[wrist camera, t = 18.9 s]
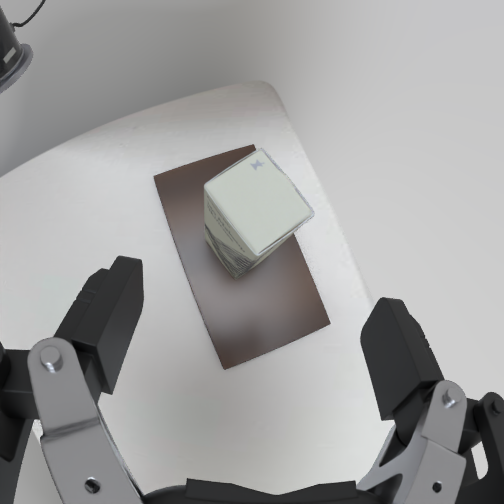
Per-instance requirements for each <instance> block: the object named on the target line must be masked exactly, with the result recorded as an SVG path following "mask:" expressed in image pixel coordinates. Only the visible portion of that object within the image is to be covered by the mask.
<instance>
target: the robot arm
mask: <svg viewBox="0 0 504 504" xmlns="http://www.w3.org/2000/svg"><path fill="white" fill-rule="evenodd" d="M44 2H45V0H42V2H41V4H40V5H39V7H38V8H37V9H36V10H35V12H34V13H33V14H32V15H31V16H30V17H29V18H28V19H27V20H26V21H25V22H23V23H21V24H19V23H13V24H12V23H9V22H8V21H7V19H6V17H5V15H4V13H3V10H2V8H1V7H0V83H1V82H2V81H3V80H5V79H6V78H7V77H8V76H9V75H10V74H11V73H12V72H13V71H14V70H15V69H16V68H17V67H18V66H19V64H20V63H21V61H22V59H23V57H24V54H25V52H24V49H23V48H22V47H21V45H20V43H19V41H18V40H17V38H16V36H15V34H14V32H15V29H14V26H16V27H22V26H23V25H25V24H26V23H28V22H29V21H30V20H31V19H32V18H33V17H34V16H35V14H36V13H37V12H38V11H39V10H40V8H41V7H42V5H43V4H44ZM143 301H144V291H143V266H142V260H141V259H136V258H130V257H125V256H118V257H117V258H116V260H115V261H114V263H113V264H112V266H111V268H110V269H109V270H108V269H103V268H101V269H100V270H98V271H97V272H96V273H94V274H93V275H91V276H90V277H89V278H88V280H87V281H86V283H85V285H84V286H83V288H82V291H80V293H79V294H78V296H77V297H76V300H75V301H74V302H73V304H72V306H71V307H70V309H69V311H68V312H67V314H66V316H65V317H64V319H63V321H62V323H61V324H60V326H59V328H58V330H57V331H56V333H55V335H54V336H53V337H52V338H46V339H43V340H41V341H39V342H38V343H37V344H35V345H34V346H33V348H32V349H31V350H10V349H4V347H3V346H2V344H1V342H0V504H13V502H14V496H15V492H16V487H17V481H18V477H19V473H20V469H21V464H22V460H23V456H24V452H25V449H26V445H27V442H28V438H29V435H30V431H31V428H32V425H33V422H34V419H37V420H40V421H41V425H42V429H43V435H42V436H41V437H40V442H41V447H42V451H43V454H44V457H45V460H46V463H47V465H48V468H49V471H50V473H51V476H52V479H53V481H54V483H55V486H56V488H57V491H58V493H59V495H60V498H61V500H62V502H63V504H504V400H503V398H502V397H501V396H500V395H498V394H496V393H494V392H488V393H487V394H486V395H485V396H484V397H483V398H482V399H480V400H479V401H478V400H473V399H469V398H466V396H465V393H464V392H463V390H462V389H461V388H460V387H459V386H458V385H457V384H456V383H454V382H452V381H449V380H445V379H444V377H443V375H442V372H441V370H440V368H439V365H438V363H437V361H436V358H435V356H434V354H433V352H432V350H431V348H429V343H428V341H427V339H425V335H424V332H423V330H422V329H421V326H420V325H419V323H418V322H417V321H416V320H415V319H414V318H413V317H412V316H411V315H410V314H409V312H408V310H407V308H406V306H405V304H404V302H403V301H402V300H400V299H393V298H385V297H382V298H380V299H379V300H378V302H377V304H376V305H375V307H374V309H373V311H372V312H371V314H370V316H369V318H368V319H367V321H366V323H365V325H364V326H363V328H362V331H361V337H360V342H361V346H362V350H363V353H364V357H365V360H366V363H367V367H368V371H369V374H370V378H371V381H372V385H373V389H374V393H375V396H376V400H377V404H378V408H379V412H380V416H381V420H382V421H384V420H394V421H395V425H394V426H393V427H392V428H391V430H390V431H389V434H388V436H387V438H386V440H385V442H384V444H383V446H382V448H381V450H380V452H379V454H378V456H377V458H376V460H375V462H374V464H373V466H372V468H371V469H370V471H369V472H368V473H367V474H366V476H364V477H363V478H362V479H361V481H360V482H359V483H358V484H357V485H356V482H355V481H347V482H337V483H326V484H317V485H314V486H311V487H307V488H304V489H300V490H297V491H293V492H289V493H285V494H281V495H272V494H268V493H264V492H260V491H256V490H252V489H249V488H245V487H242V486H238V485H235V484H232V483H220V482H211V481H203V480H195V479H188V478H187V482H186V485H178V486H171V487H166V488H162V489H159V490H155V491H153V492H151V493H148V494H146V495H144V494H143V492H142V491H141V489H140V487H139V486H138V484H137V482H136V480H135V479H134V477H133V475H132V473H131V472H130V470H129V468H128V466H127V465H126V463H125V461H124V459H123V458H122V456H121V454H120V452H119V450H118V448H117V446H116V444H115V442H114V440H113V438H112V436H111V433H110V431H109V429H108V427H107V425H106V422H105V420H104V418H103V416H102V413H101V411H100V409H99V406H98V404H97V403H98V400H99V397H100V394H101V392H104V393H107V394H111V395H112V394H113V391H114V388H115V385H116V382H117V379H118V376H119V373H120V370H121V367H122V364H123V361H124V358H125V355H126V353H127V350H128V347H129V344H130V342H131V339H132V336H133V333H134V331H135V328H136V325H137V323H138V320H139V318H140V315H141V312H142V308H143ZM481 441H482V444H483V447H484V450H485V454H486V458H487V462H488V471H487V474H486V475H485V476H484V477H483V478H482V479H480V480H479V479H478V476H477V471H476V467H475V463H474V459H473V455H472V451H471V448H472V447H474V446H475V445H477V444H478V443H479V442H481Z"/></svg>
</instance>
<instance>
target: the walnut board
mask: <svg viewBox="0 0 504 504" xmlns="http://www.w3.org/2000/svg"><path fill="white" fill-rule="evenodd" d="M254 151H256V148H255V146H254V144H253V145H249V146H246V147H242V148H239V149H235V150H232V151H228V152H225V153H222V154H218V155H215V156H212V157H209V158H205V159H202V160H199V161H196V162H193V163H190V164H187V165H184V166H181V167H178V168H175V169H172V170H169V171H167V172H164V173H161V174H158V175H155V176H153V177H154V180H155V183H156V187H157V190H158V193H159V196H160V199H161V203H162V206H163V209H164V212H165V215H166V218H167V221H168V224H169V227H170V230H171V233H172V236H173V239H174V242H175V245H176V247H177V250H178V253H179V256H180V259H181V262H182V264H183V267H184V270H185V273H186V275H187V278H188V281H189V283H190V286H191V289H192V291H193V294H194V297H195V299H196V302H197V304H198V307H199V310H200V312H201V315H202V317H203V320H204V322H205V325H206V327H207V330H208V332H209V335H210V337H211V340H212V342H213V344H214V347H215V349H216V352H217V354H218V356H219V359H220V361H221V363H222V366H223V368H224V370H225V369H228V368H231V367H233V366H236V365H238V364H241V363H243V362H246V361H248V360H251V359H253V358H256V357H258V356H260V355H263V354H265V353H268V352H270V351H272V350H275V349H277V348H279V347H281V346H284V345H286V344H288V343H291V342H293V341H295V340H297V339H299V338H302V337H304V336H306V335H308V334H310V333H312V332H315V331H317V330H319V329H321V328H323V327H325V326H327V325H329V324H331V323H330V321H329V318H328V316H327V313H326V311H325V308H324V305H323V303H322V300H321V298H320V295H319V293H318V290H317V288H316V285H315V283H314V281H313V278H312V276H311V273H310V271H309V268H308V266H307V264H306V261H305V259H304V256H303V254H302V252H301V249H300V247H299V245H298V242H297V240H296V238H295V235H294V233H293V234H292V235H291V236H290V237H289V238H287V239H286V240H285V241H284V242H283V243H282V244H281V245H280V246H279V247H277V248H276V249H275V250H274V251H273V252H272V253H271V254H270V255H269V256H267V257H266V258H265V259H264V260H263V261H261V262H260V263H259V264H258V265H256V266H255V267H254V268H252V269H251V270H249V271H248V272H247V273H245V274H244V275H242V276H241V277H240V278H238V279H234V277H233V276H232V275H231V274H230V272H229V271H228V270H227V269H226V267H225V266H224V265H223V264H222V262H221V261H220V260H219V258H218V257H217V255H216V254H215V253H214V251H213V250H212V248H211V247H210V245H209V244H208V243H207V241H206V240H205V219H204V185H205V184H206V183H207V182H208V181H210V180H211V179H212V178H214V177H215V176H217V175H218V174H220V173H221V172H223V171H224V170H225V169H227V168H229V167H230V166H232V165H233V164H235V163H236V162H238V161H239V160H241V159H243V158H245V157H246V156H248V155H249V154H251V153H253V152H254Z"/></svg>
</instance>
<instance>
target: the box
mask: <svg viewBox="0 0 504 504" xmlns="http://www.w3.org/2000/svg"><path fill="white" fill-rule="evenodd" d="M313 216H314V211H313V209H312V207H311V206H310V205H309V203H308V202H307V201H306V199H305V198H304V197H303V196H302V194H301V193H300V192H299V190H298V189H297V188H296V187H295V185H294V184H293V183H292V182H291V180H290V179H289V178H288V177H287V176H286V174H285V173H284V172H283V171H282V170H281V169H280V167H279V166H278V165H277V164H276V163H275V162H274V160H273V159H272V158H271V157H270V156H269V155H268V154H267V153H266V151H265V150H264V149H262V148H261V149H258V150H256V151H254V152H253V153H251V154H249V155H248V156H246V157H245V158H243V159H241V160H239V161H238V162H236V163H235V164H233V165H232V166H230V167H229V168H227V169H225V170H224V171H223V172H221V173H220V174H218V175H217V176H215V177H214V178H212V179H211V180H210V181H208V182H207V183H206V184H205V185H204V219H205V240H206V241H207V243H208V244H209V245H210V247H211V248H212V250H213V251H214V253H215V254H216V255H217V257H218V258H219V260H220V261H221V262H222V264H223V265H224V266H225V267H226V269H227V270H228V271H229V272H230V274H231V275H232V276H233V277H234V279H238V278H240V277H241V276H242V275H244V274H245V273H247V272H248V271H249V270H251V269H252V268H254V267H255V266H256V265H258V264H259V263H260V262H261V261H263V260H264V259H265V258H266V257H267V256H269V255H270V254H271V253H272V252H273V251H274V250H275V249H276V248H277V247H279V246H280V245H281V244H282V243H283V242H284V241H285V240H286V239H287V238H289V237H290V236H291V235H292V234H293V233H294V232H295V231H296V230H298V229H299V228H300V227H301V226H302V225H303V224H304V223H306V222H307V221H308V220H310V219H311V218H312V217H313Z"/></svg>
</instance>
